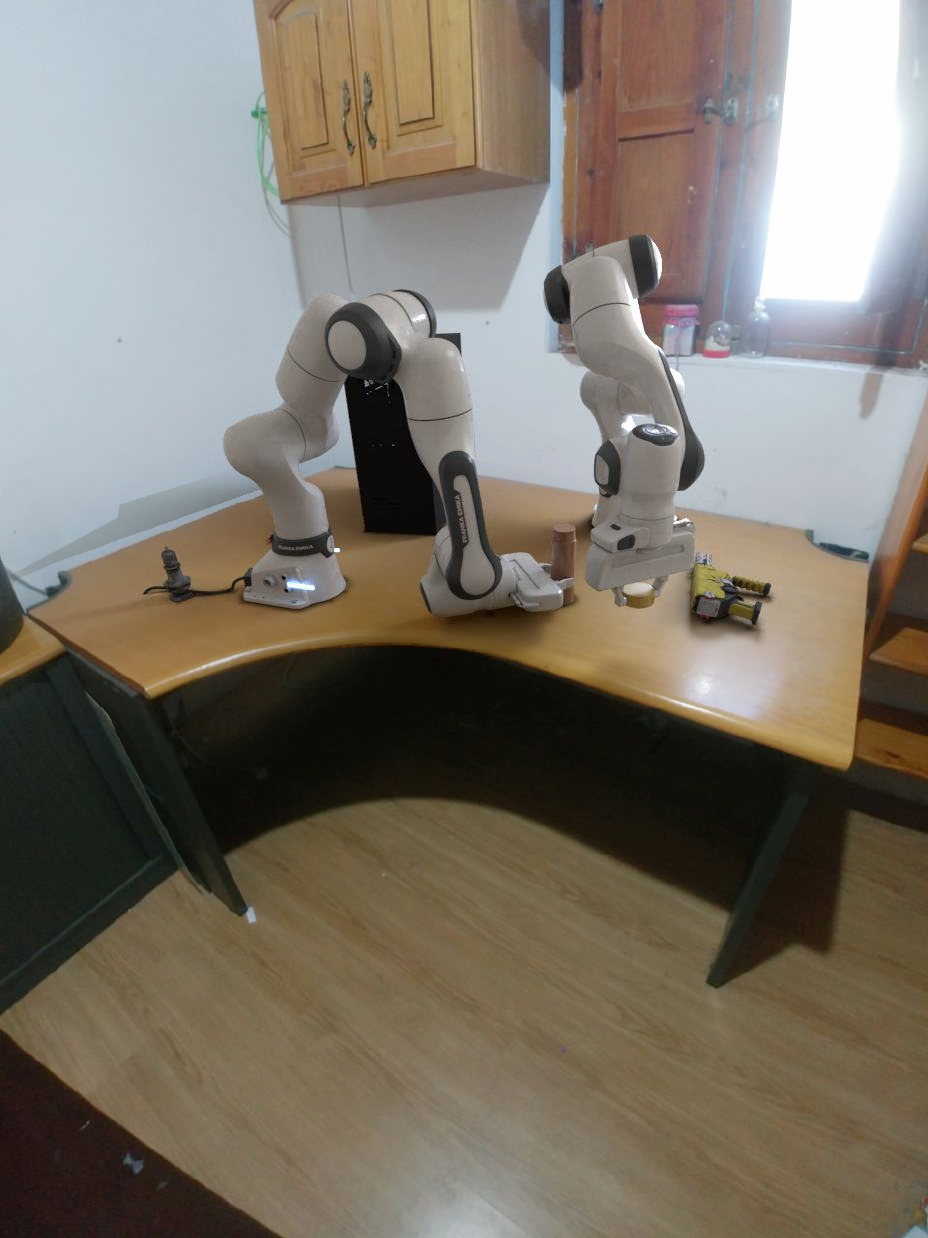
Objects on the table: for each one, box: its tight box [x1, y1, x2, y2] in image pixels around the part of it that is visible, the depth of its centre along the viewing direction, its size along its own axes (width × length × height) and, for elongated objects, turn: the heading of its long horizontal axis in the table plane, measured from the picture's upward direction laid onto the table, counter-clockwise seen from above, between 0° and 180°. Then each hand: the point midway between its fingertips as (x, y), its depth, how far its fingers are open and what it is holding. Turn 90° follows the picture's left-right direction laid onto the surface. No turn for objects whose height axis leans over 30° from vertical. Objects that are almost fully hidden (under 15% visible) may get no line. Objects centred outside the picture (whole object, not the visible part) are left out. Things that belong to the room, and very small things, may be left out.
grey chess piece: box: [160, 546, 195, 602], centre depth 132 cm, size 6×6×12 cm
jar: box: [550, 523, 577, 606], centre depth 121 cm, size 5×5×16 cm
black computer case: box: [343, 332, 463, 535], centre depth 166 cm, size 38×20×45 cm, turn 167°
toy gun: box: [690, 551, 772, 626], centre depth 121 cm, size 5×24×15 cm
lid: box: [621, 582, 656, 610], centre depth 106 cm, size 6×6×2 cm
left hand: (566, 574), depth 123 cm, fingers closed on jar, 5 cm apart
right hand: (637, 600), depth 107 cm, fingers closed on lid, 5 cm apart
